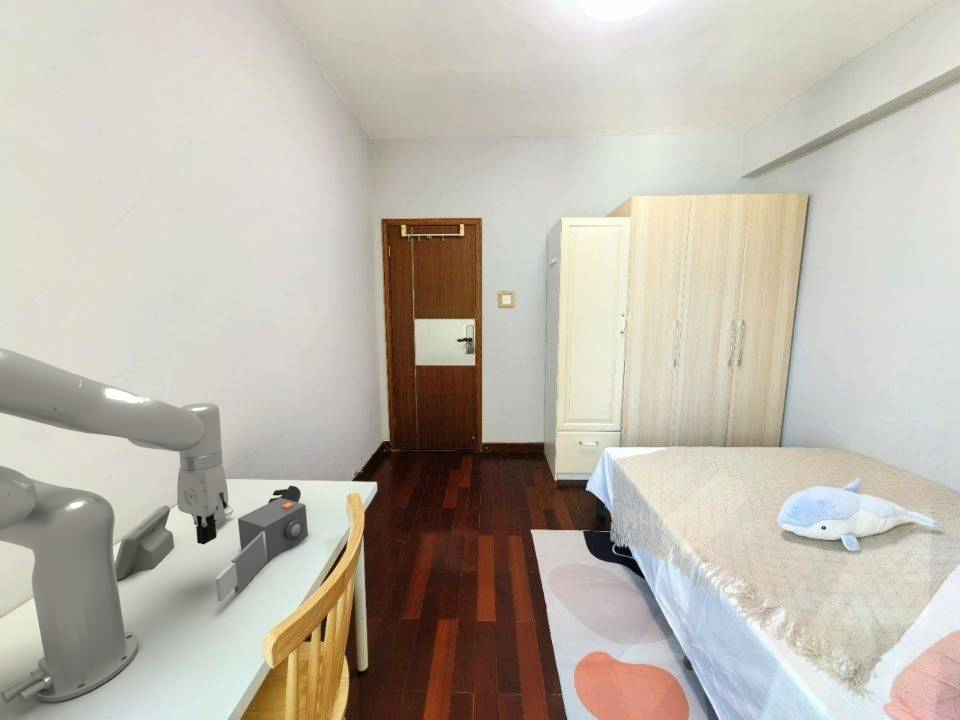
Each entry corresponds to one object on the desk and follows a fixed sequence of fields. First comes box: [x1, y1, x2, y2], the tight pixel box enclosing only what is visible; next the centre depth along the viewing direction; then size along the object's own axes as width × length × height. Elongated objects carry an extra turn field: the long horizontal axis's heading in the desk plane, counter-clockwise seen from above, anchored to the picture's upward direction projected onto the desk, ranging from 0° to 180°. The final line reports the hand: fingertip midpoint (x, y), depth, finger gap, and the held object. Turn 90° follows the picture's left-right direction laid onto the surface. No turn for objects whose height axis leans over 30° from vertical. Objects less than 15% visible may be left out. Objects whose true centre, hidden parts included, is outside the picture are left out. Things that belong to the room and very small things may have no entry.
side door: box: [214, 531, 269, 603], centre depth 87 cm, size 1×16×8 cm, turn 178°
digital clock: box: [114, 505, 175, 581], centre depth 96 cm, size 16×9×11 cm, turn 0°
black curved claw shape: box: [267, 485, 302, 504], centre depth 118 cm, size 10×7×7 cm
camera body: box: [237, 497, 309, 563], centre depth 102 cm, size 12×11×10 cm
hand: (207, 540), depth 87 cm, fingers closed
